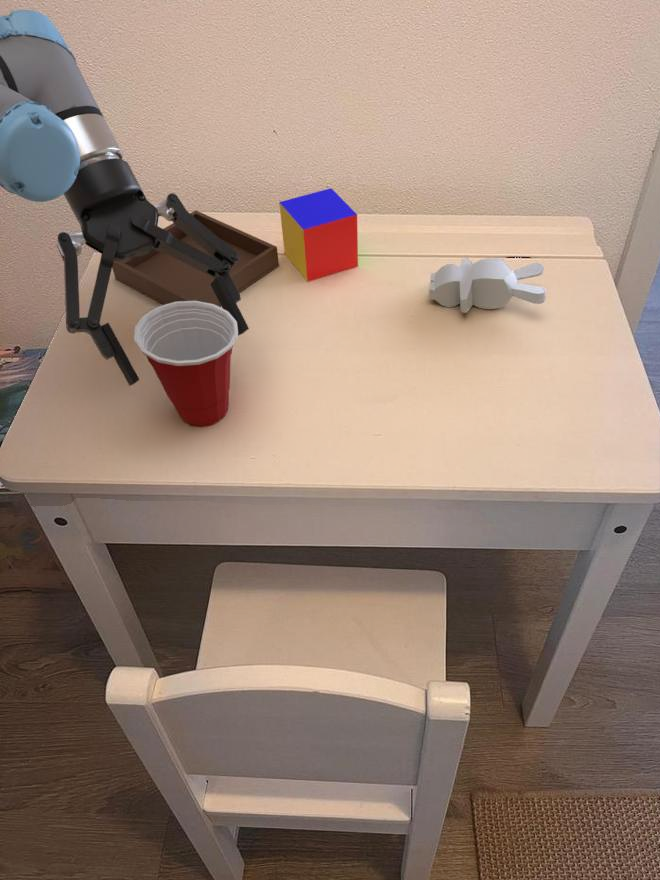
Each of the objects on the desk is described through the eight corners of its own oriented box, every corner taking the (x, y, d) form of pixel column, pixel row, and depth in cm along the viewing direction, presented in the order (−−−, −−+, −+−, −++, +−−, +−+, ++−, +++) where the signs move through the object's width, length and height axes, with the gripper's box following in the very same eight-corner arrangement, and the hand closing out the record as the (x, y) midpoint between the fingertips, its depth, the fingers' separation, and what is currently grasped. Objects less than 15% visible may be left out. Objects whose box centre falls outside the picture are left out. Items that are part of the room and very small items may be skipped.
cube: (307, 281, 101) (303, 229, 95) (284, 253, 105) (279, 202, 99) (357, 266, 103) (357, 214, 97) (333, 239, 108) (331, 188, 101)
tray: (115, 279, 101) (109, 259, 99) (199, 228, 110) (195, 209, 107) (196, 322, 95) (191, 303, 93) (279, 265, 103) (277, 246, 101)
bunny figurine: (431, 251, 98) (543, 245, 96) (433, 283, 102) (541, 278, 100) (427, 292, 92) (547, 287, 90) (430, 324, 96) (545, 320, 94)
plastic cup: (263, 427, 83) (249, 345, 73) (169, 453, 80) (143, 372, 71) (238, 369, 89) (222, 287, 80) (151, 391, 86) (125, 309, 77)
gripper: (190, 153, 84) (274, 320, 88) (-23, 225, 74) (82, 409, 78) (204, 122, 77) (295, 305, 81) (-28, 197, 67) (87, 401, 71)
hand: (190, 357), depth 80 cm, fingers open, 13 cm apart
